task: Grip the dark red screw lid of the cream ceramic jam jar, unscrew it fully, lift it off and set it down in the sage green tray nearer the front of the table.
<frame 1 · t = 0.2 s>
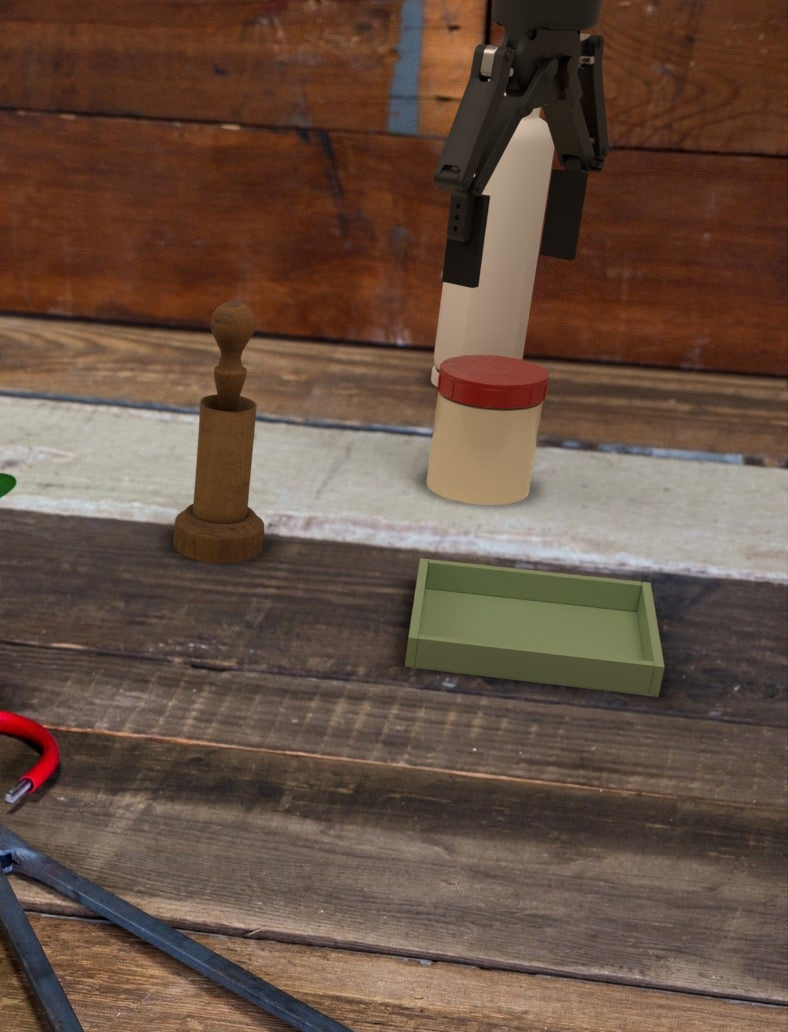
hand: (510, 270, 128), 17 cm above the table, tool pointing down, fingers open, 13 cm apart
tray: (528, 643, 109), on the table
bottle: (473, 390, 159), on the table
jam lid: (493, 374, 129), point 10 cm above the table, screwed on, not yet turned
mortar and pestle: (217, 553, 122), on the table
jam jar: (476, 492, 134), on the table
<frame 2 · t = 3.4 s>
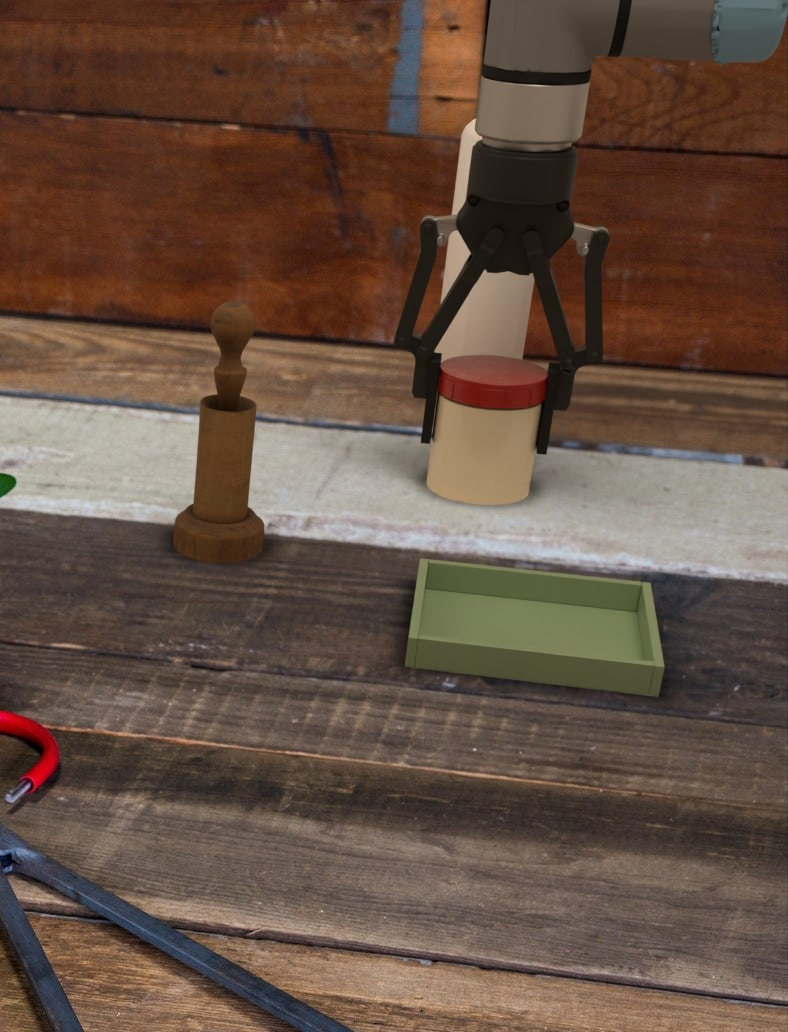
hand: (483, 443, 132), 4 cm above the table, tool pointing down, fingers closed on jam lid, 8 cm apart
jam lid: (493, 374, 129), point 10 cm above the table, screwed on, not yet turned, touching gripper
everything else where it was.
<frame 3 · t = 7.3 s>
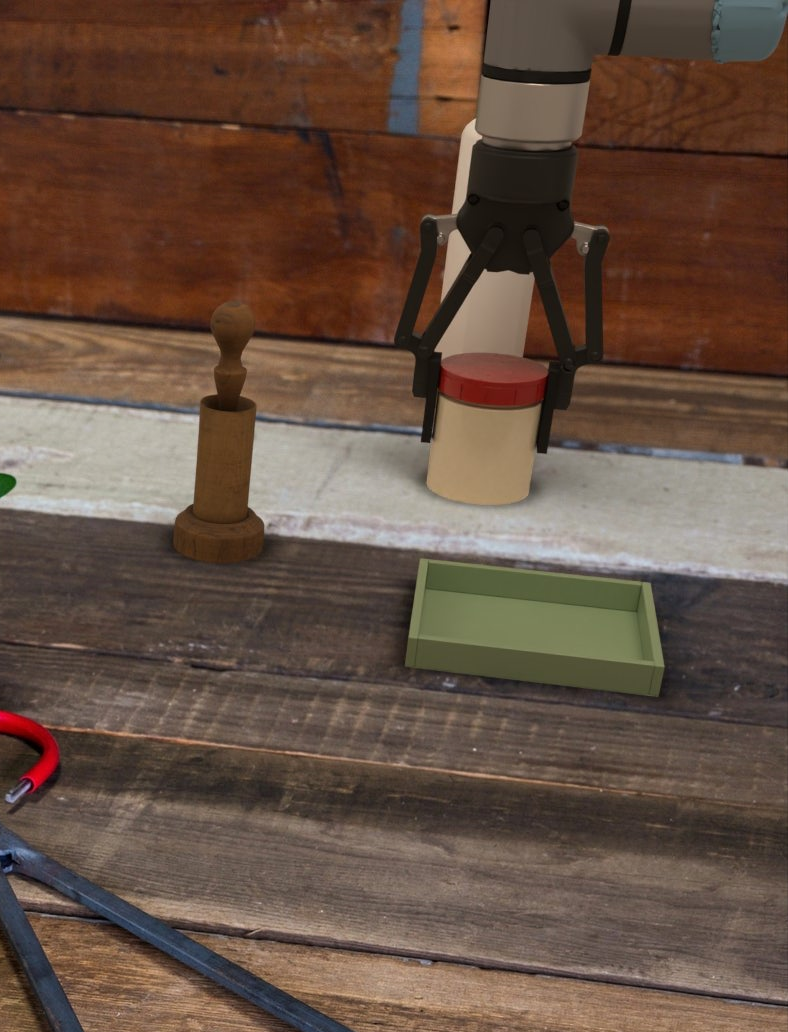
hand: (483, 442, 132), 4 cm above the table, tool pointing down, fingers closed on jam lid, 8 cm apart
jam lid: (493, 372, 129), point 10 cm above the table, turned 131° so far, risen 0.2 cm, still on its thread, touching gripper
everything else where it was.
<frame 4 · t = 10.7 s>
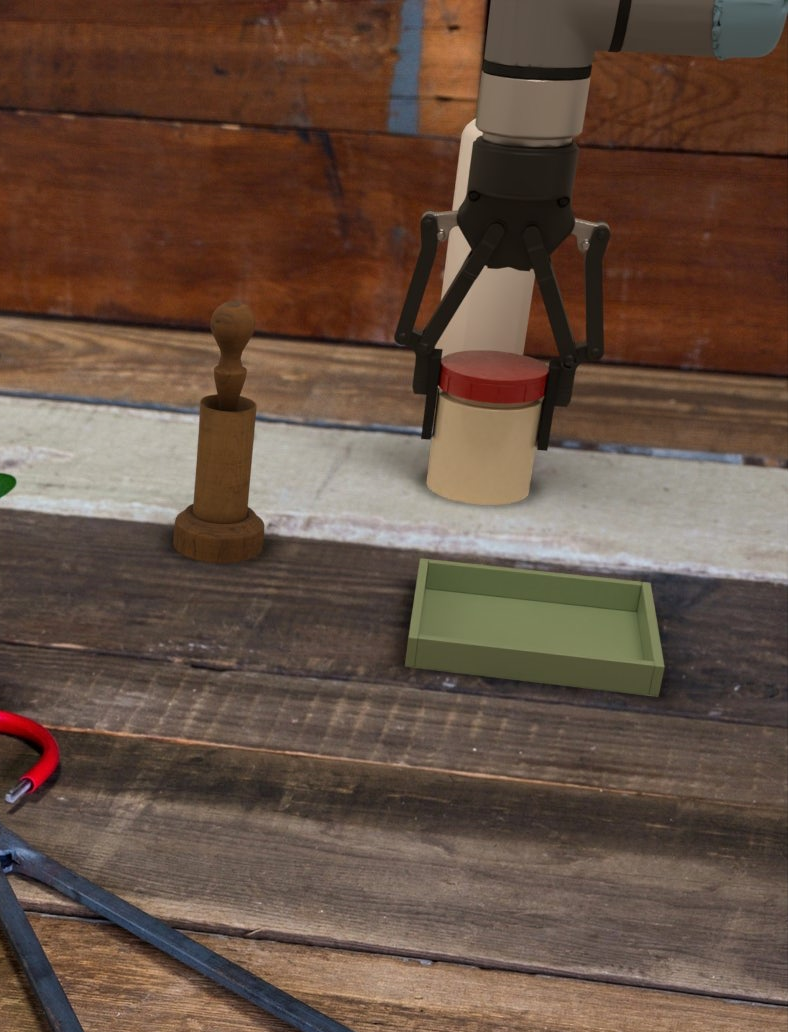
hand: (484, 439, 132), 4 cm above the table, tool pointing down, fingers closed on jam lid, 8 cm apart
jam lid: (494, 369, 129), point 10 cm above the table, turned 262° so far, risen 0.4 cm, still on its thread, touching gripper
everything else where it was.
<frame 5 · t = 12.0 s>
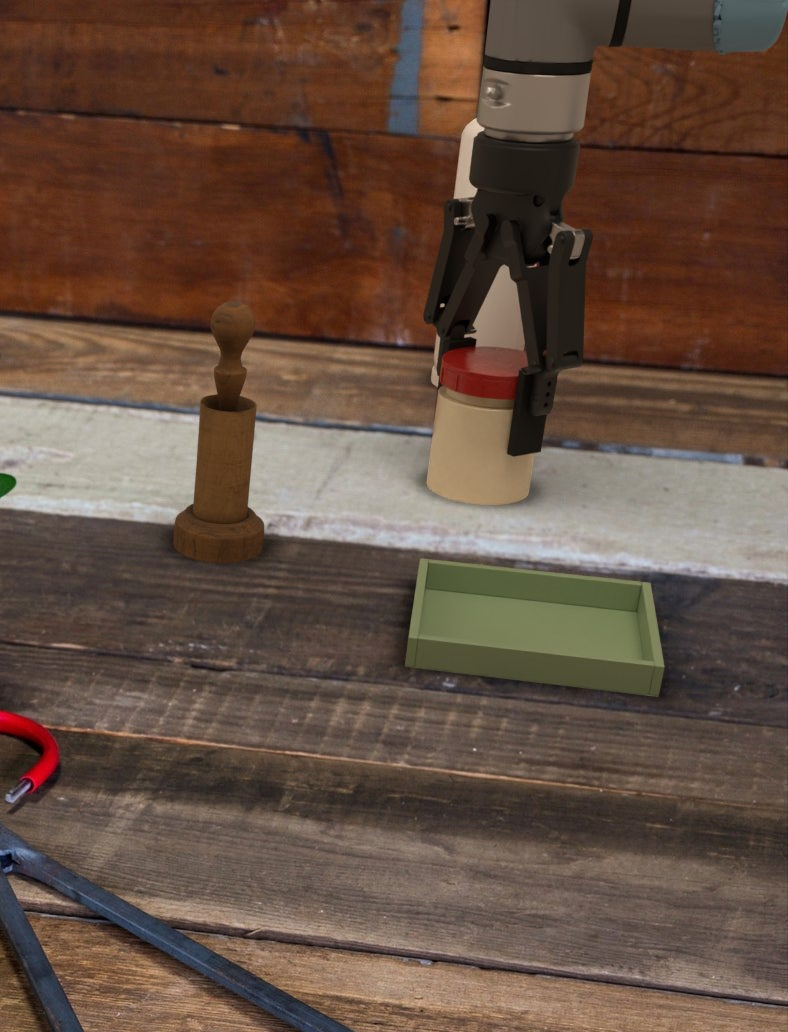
hand: (485, 435, 132), 5 cm above the table, tool pointing down, fingers closed on jam lid, 8 cm apart
jam lid: (495, 366, 129), point 10 cm above the table, off its thread, touching gripper
jam jar: (476, 492, 134), on the table, touching gripper
everything else where it was.
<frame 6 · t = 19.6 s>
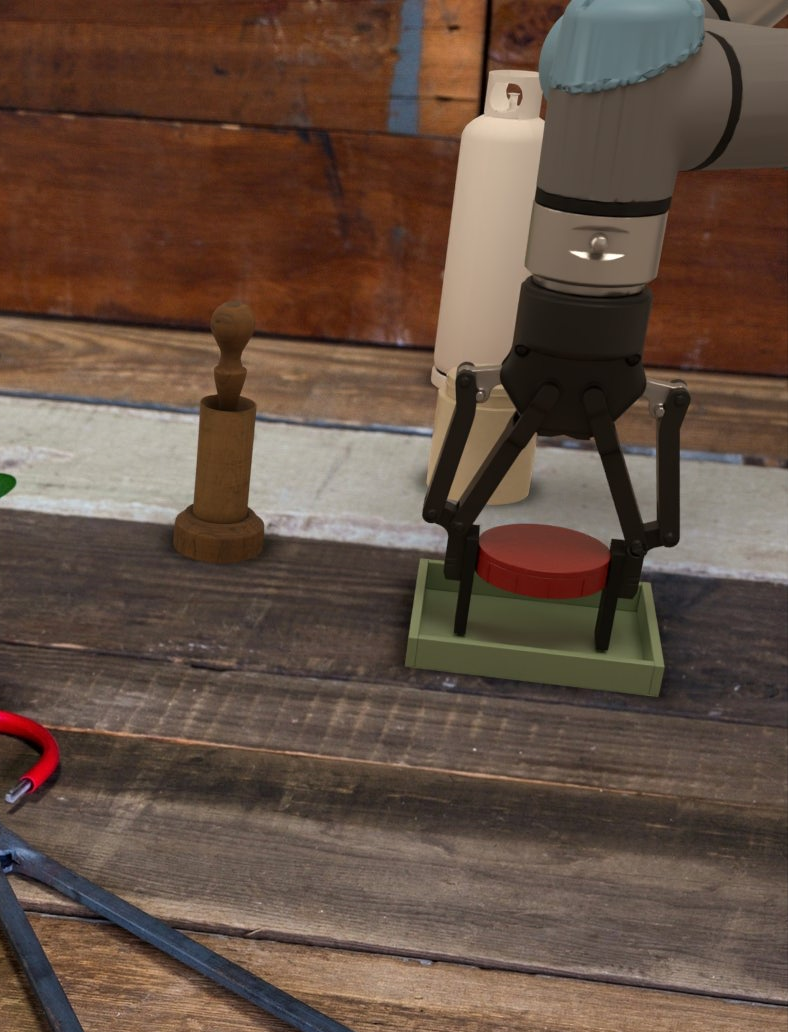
hand: (530, 632, 109), 1 cm above the table, tool pointing down, fingers closed on jam lid, 8 cm apart
jam lid: (543, 552, 106), point 6 cm above the table, off its thread, touching gripper
jam jar: (476, 492, 134), on the table
everything else where it was.
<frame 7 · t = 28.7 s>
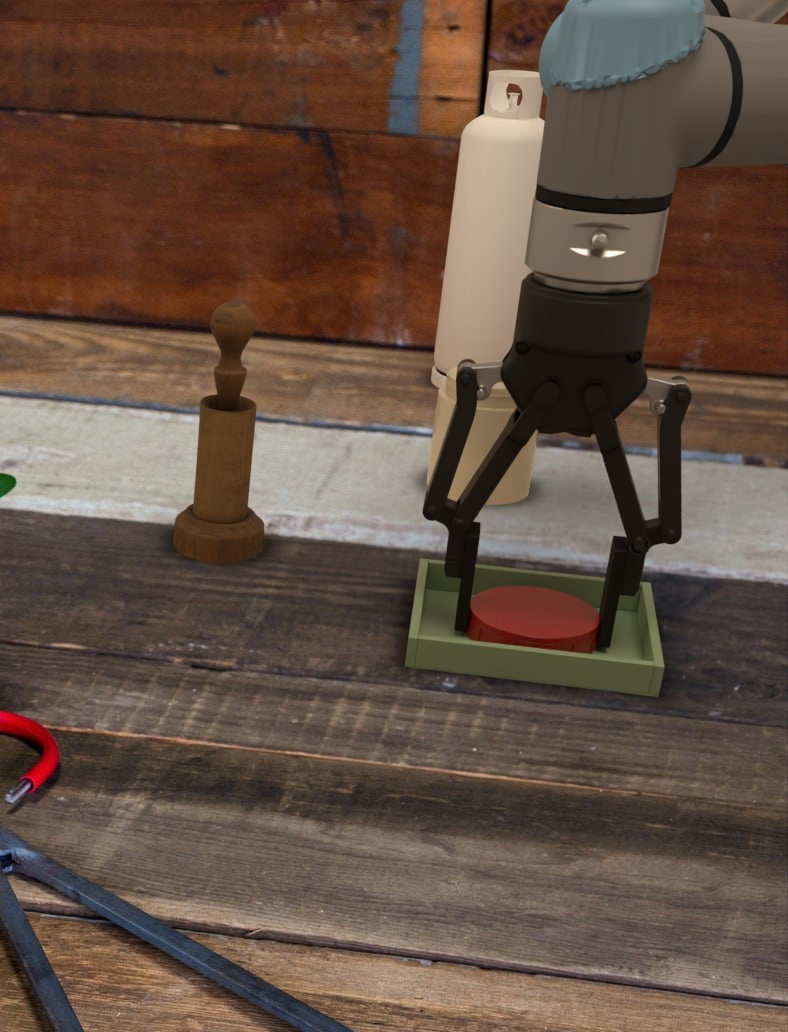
hand: (531, 630, 109), 1 cm above the table, tool pointing down, fingers closed on jam lid, 8 cm apart
jam lid: (533, 616, 108), point 2 cm above the table, off its thread, touching gripper
everything else where it was.
when the fingers open (2 cm above the table, at t = 29.0 s): jam lid stays where it is, resting on tray.
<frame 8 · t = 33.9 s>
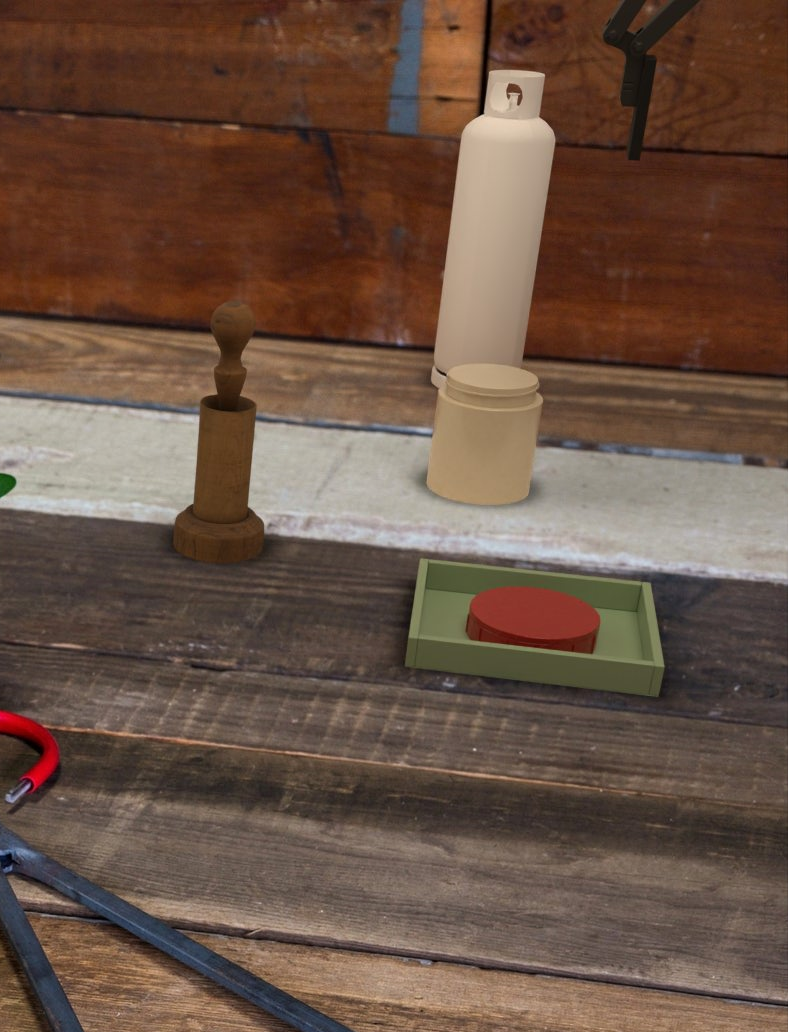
hand: (735, 163, 115), 27 cm above the table, tool pointing down, fingers open, 13 cm apart
jam lid: (533, 617, 108), point 2 cm above the table, off its thread, touching tray
everything else where it was.
at the end: jam lid inside the target area in the tray (0.1 cm from its centre), point 1.9 cm above the tray's base; jam lid point 1.9 cm above the table; the gripper is holding nothing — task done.
